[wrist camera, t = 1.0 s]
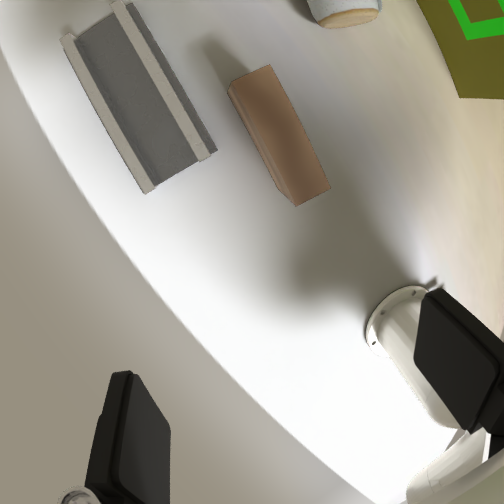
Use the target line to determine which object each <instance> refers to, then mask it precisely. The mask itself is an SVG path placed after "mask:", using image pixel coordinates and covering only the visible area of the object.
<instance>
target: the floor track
mask: <svg viewBox="0 0 504 504" xmlns="http://www.w3.org/2000/svg"><path fill="white" fill-rule="evenodd" d="M110 6H111V8H112V10H113V11H114V14H112V15H111V16H109V17H107V18H106V19H104V20H103V21H101V22H100V23H98V24H97V25H95V26H94V27H92V28H91V29H89V30H88V31H86V32H85V33H84V34H82V35H81V36H79V37H78V38H77V37H75V36H74V35H72V34H70V33H67V34H66V35H65V36H63V37H62V38H61V39H60V42H61V44H62V46H63V49H64V51H65V54H66V56H67V58H68V60H69V62H70V63H71V65H72V67H73V69H74V71H75V73H76V75H77V77H78V79H79V81H80V83H81V85H82V87H83V89H84V90H85V92H86V94H87V96H88V98H89V100H90V102H91V104H92V105H93V107H94V109H95V111H96V113H97V115H98V116H99V118H100V120H101V122H102V124H103V125H104V127H105V129H106V131H107V132H108V134H109V136H110V138H111V139H112V141H113V143H114V145H115V146H116V148H117V150H118V152H119V153H120V155H121V157H122V158H123V160H124V162H125V164H126V165H127V167H128V169H129V170H130V172H131V174H132V175H133V177H134V179H135V180H136V182H137V184H138V185H139V187H140V189H141V190H142V192H143V194H145V195H146V194H147V193H149V192H150V191H152V190H154V189H155V188H156V187H157V186H158V185H159V184H160V183H162V182H164V181H165V180H167V179H168V178H170V177H172V176H173V175H175V174H177V173H179V172H180V171H182V170H184V169H185V168H187V167H189V166H191V165H192V164H194V163H196V162H198V161H199V162H201V161H203V160H204V159H206V158H208V157H210V156H211V154H212V153H214V152H215V151H217V148H216V146H215V144H214V143H213V141H212V139H211V137H210V135H209V134H208V132H207V130H206V128H205V127H204V125H203V123H202V121H201V119H200V118H199V116H198V114H197V112H196V111H195V109H194V107H193V105H192V104H191V102H190V100H189V98H188V97H187V95H186V93H185V91H184V90H183V88H182V86H181V84H180V83H179V81H178V79H177V77H176V76H175V74H174V72H173V71H172V69H171V67H170V65H169V64H168V62H167V60H166V58H165V57H164V55H163V53H162V52H161V50H160V48H159V46H158V45H157V43H156V41H155V40H154V38H153V36H152V35H151V33H150V31H149V29H148V28H147V26H146V24H145V23H144V21H143V19H142V18H141V16H140V14H139V13H138V11H137V9H136V8H135V6H134V4H133V3H131V4H129V5H127V6H125V5H124V3H123V2H122V0H117V1H115V2H113V3H112V4H110Z"/></svg>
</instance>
